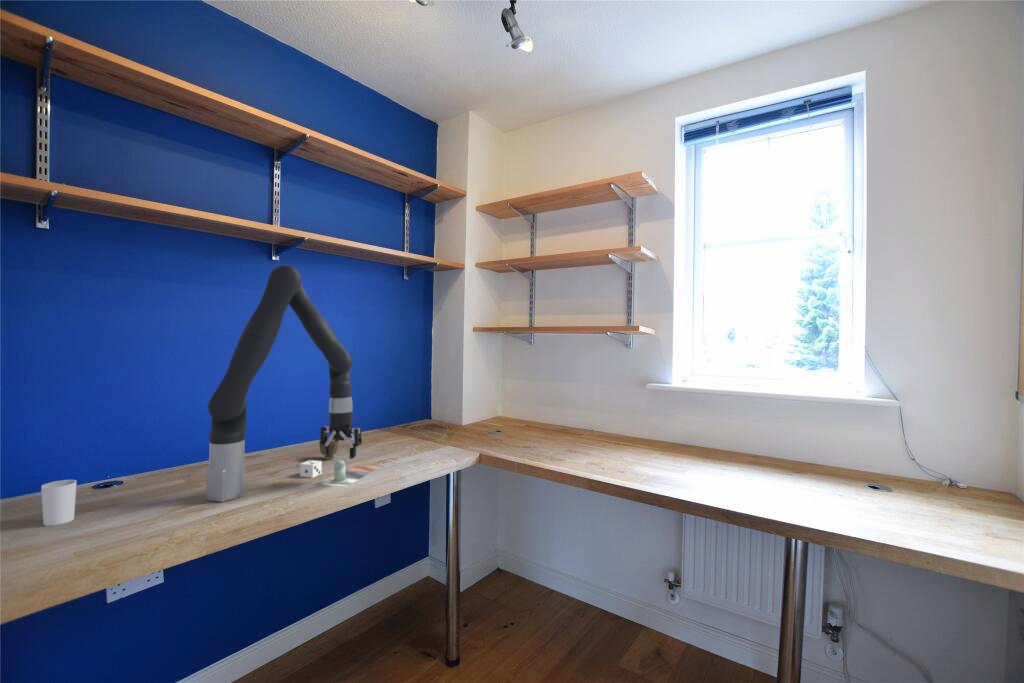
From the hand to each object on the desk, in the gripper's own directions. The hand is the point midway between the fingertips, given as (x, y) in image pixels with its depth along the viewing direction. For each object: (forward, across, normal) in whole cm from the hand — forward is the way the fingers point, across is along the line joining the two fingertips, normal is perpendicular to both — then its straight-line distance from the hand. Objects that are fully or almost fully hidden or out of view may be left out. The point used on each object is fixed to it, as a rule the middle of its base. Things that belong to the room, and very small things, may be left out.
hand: (341, 457), depth 153 cm
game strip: (+9, 0, +8) cm, 12 cm away
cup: (+9, -22, +25) cm, 34 cm away
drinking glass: (+8, -53, -46) cm, 71 cm away
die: (+9, -14, +4) cm, 17 cm away
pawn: (+8, 0, 0) cm, 8 cm away
